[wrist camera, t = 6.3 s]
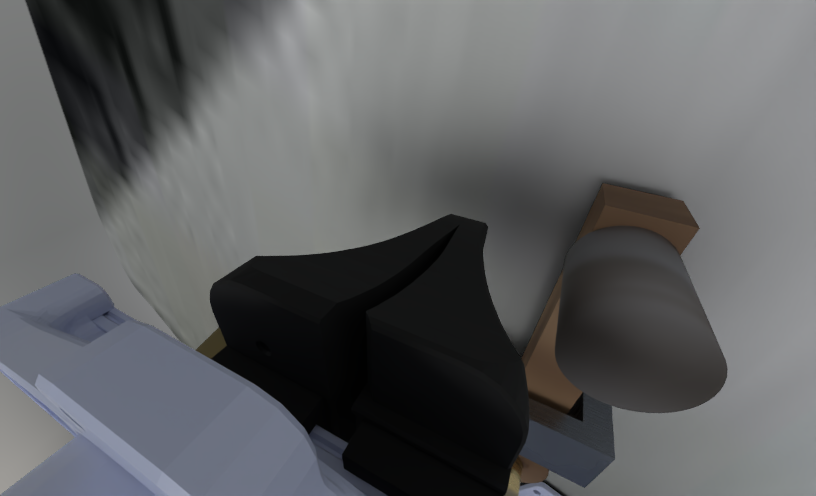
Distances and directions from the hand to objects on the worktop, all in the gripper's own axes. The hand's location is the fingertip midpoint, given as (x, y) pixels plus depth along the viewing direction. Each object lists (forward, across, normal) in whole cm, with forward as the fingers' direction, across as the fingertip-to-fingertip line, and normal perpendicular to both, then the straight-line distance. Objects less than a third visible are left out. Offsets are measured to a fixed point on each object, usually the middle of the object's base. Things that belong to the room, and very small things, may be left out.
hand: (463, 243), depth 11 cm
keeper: (+4, -4, +9) cm, 11 cm away
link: (+3, -5, +7) cm, 9 cm away
